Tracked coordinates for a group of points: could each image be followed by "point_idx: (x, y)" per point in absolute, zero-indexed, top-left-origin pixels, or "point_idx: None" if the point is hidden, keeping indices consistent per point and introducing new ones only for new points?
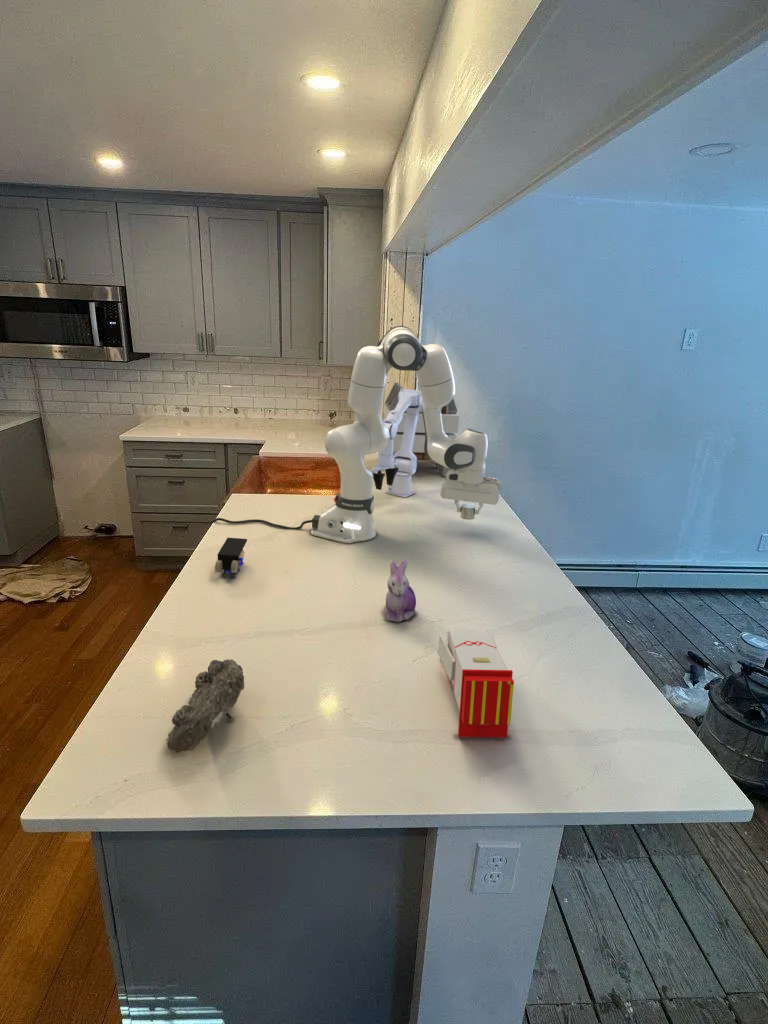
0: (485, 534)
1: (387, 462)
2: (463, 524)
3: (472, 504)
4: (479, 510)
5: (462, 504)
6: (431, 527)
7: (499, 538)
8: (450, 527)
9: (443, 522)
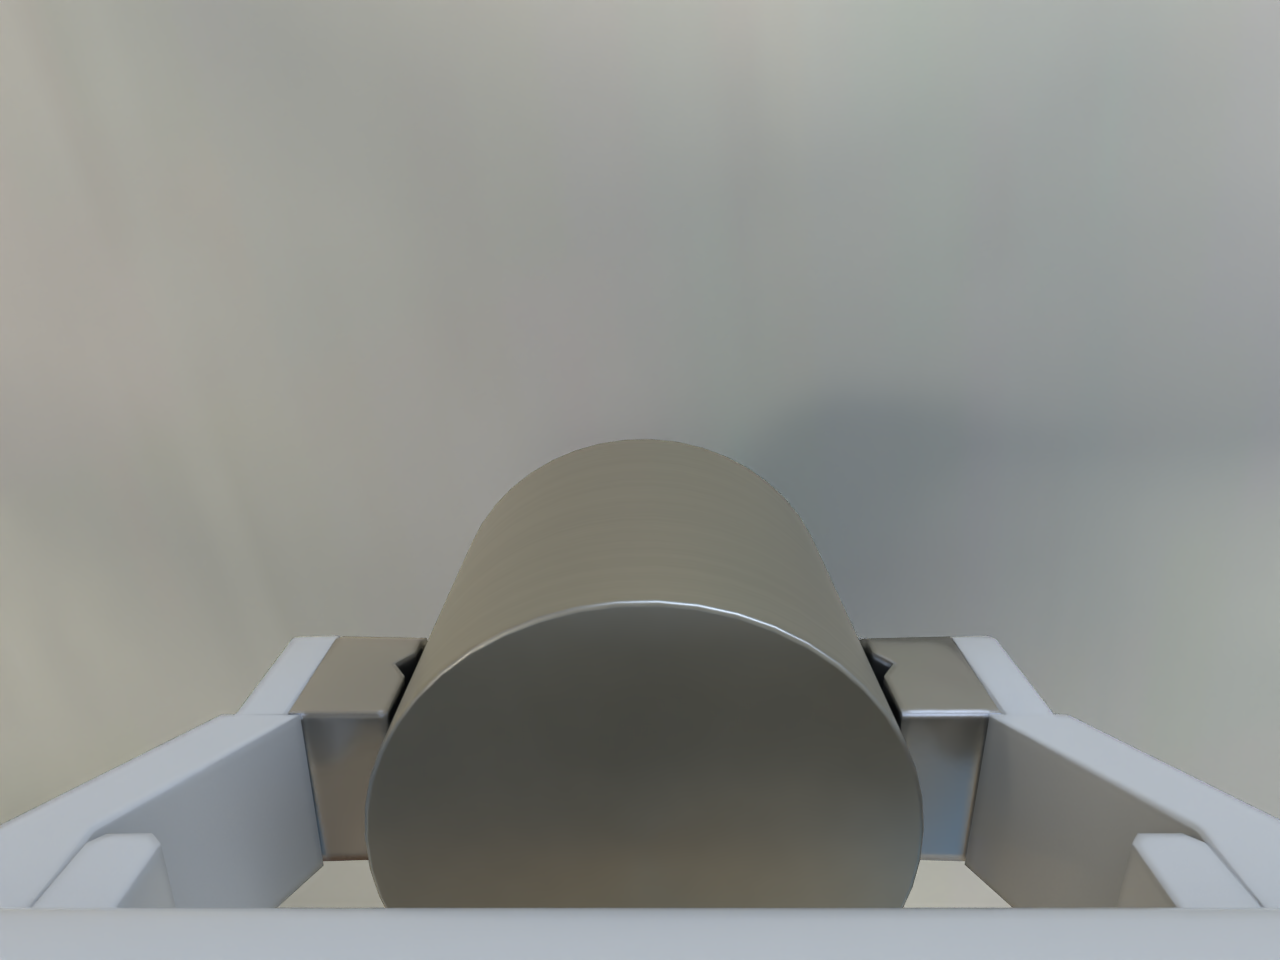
0: (994, 444)
1: None
2: (530, 42)
3: (783, 656)
4: (1024, 677)
5: (385, 807)
6: (9, 459)
7: (1229, 538)
8: (323, 330)
9: (102, 88)
